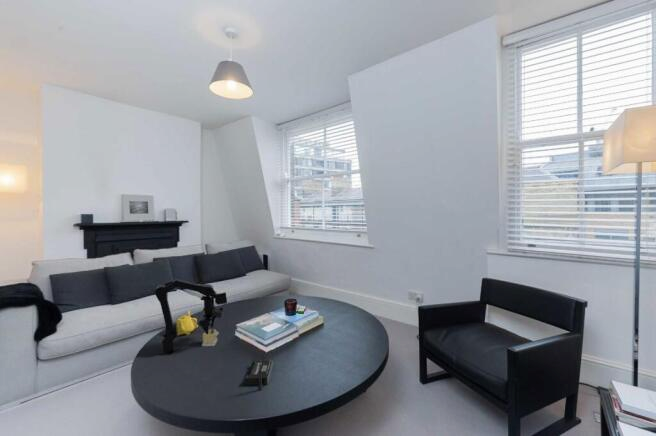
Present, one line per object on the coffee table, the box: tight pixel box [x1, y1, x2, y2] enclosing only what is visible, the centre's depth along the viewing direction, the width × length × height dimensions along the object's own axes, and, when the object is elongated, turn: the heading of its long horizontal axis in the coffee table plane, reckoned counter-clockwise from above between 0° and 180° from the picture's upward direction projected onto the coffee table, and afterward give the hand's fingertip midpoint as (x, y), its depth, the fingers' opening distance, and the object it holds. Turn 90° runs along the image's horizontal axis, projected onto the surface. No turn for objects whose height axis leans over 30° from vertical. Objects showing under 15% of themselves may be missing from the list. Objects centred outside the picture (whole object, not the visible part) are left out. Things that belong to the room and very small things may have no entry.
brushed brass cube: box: [202, 328, 217, 344], centre depth 175 cm, size 6×6×6 cm
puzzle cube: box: [296, 305, 307, 314], centre depth 206 cm, size 10×10×10 cm
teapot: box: [175, 310, 199, 337], centre depth 191 cm, size 20×15×12 cm
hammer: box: [201, 331, 219, 347], centre depth 181 cm, size 17×7×4 cm, turn 4°
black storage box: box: [244, 354, 274, 391], centre depth 140 cm, size 20×14×17 cm
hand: (209, 330), depth 175 cm, fingers open, 9 cm apart
